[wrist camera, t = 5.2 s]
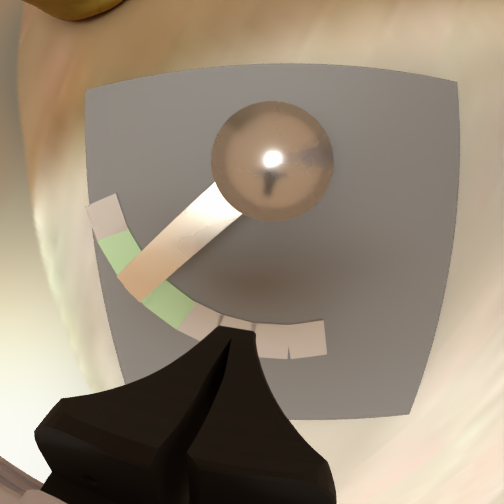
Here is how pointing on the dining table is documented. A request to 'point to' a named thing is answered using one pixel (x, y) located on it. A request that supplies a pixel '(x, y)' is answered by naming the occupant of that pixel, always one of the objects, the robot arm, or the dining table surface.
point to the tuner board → (285, 230)
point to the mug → (74, 7)
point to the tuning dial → (243, 186)
